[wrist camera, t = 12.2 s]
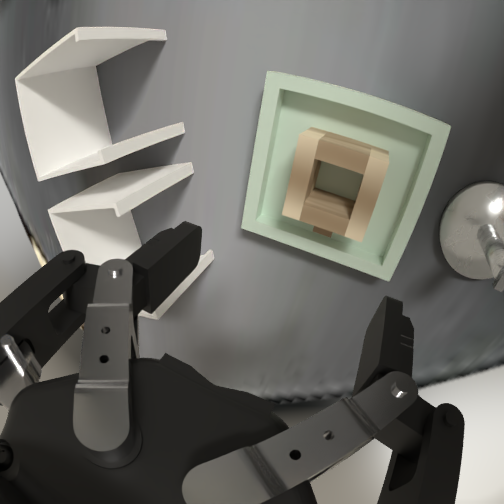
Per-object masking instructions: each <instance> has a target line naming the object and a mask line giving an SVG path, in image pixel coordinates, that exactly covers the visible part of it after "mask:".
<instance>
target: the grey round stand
mask: <svg viewBox="0 0 504 504" xmlns="http://www.w3.org/2000/svg"><path fill="white" fill-rule="evenodd" d="M439 238H440V244H441V248H442V251H443V254H444V256H445V258H446V260H447V262H448V263H449V264H450V266H451V267H452V268H453V269H454V270H455V271H457V272H458V273H460V274H461V275H463V276H466V277H469V278H473V279H488V278H493V277H494V279H495V280H494V282H493V287H494V289H496V290H498V291H500V292H502V291H503V290H504V185H503V184H501V183H498V182H494V181H480V182H475V183H473V184H470V185H468V186H466V187H464V188H463V189H461V190H460V191H459V192H458V193H456V194H455V195H454V196H453V198H452V199H451V200H450V201H449V203H448V204H447V206H446V208H445V210H444V212H443V215H442V217H441V221H440V228H439Z"/></svg>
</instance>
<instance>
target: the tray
mask: <svg viewBox="0 0 504 504" xmlns="http://www.w3.org/2000/svg"><path fill="white" fill-rule="evenodd" d="M310 127H314V128H318V129H321V130H325V131H328V132H332V133H335V134H339V135H342V136H345V137H348V138H352V139H355V140H358V141H361V142H364V143H367V144H370V145H373V146H376V147H379V148H382V149H384V150H387V151H389V165H388V169H387V172H386V175H385V178H384V181H383V184H382V187H381V190H380V193H379V196H378V199H377V202H376V205H375V208H374V210H373V213H372V216H371V219H370V222H369V224H368V227H367V230H366V232H365V235H364V238H363V240H362V243H361V242H359V241H356V240H353V239H350V238H348V237H345V236H342V235H339V234H336V233H334V232H333V233H332V235H331V238H330V237H327V236H324V235H321V234H319V233H316V232H313V228H314V226H313V225H311V224H308V223H305V222H302V221H299V220H296V219H293V218H290V217H287V216H284V215H282V212H283V207H284V203H285V198H286V194H287V189H288V184H289V180H290V175H291V171H292V166H293V161H294V157H295V152H296V147H297V142H298V138H299V134H301V133H302V132H304V131H306V130H307V129H309V128H310ZM450 129H451V126H450V125H448V124H447V123H445V122H442V121H440V120H438V119H435V118H433V117H430V116H428V115H425V114H423V113H420V112H418V111H415V110H412V109H410V108H407V107H404V106H402V105H399V104H396V103H393V102H390V101H387V100H384V99H381V98H378V97H375V96H372V95H369V94H366V93H362V92H359V91H356V90H352V89H349V88H345V87H342V86H338V85H334V84H330V83H326V82H322V81H318V80H314V79H310V78H305V77H301V76H296V75H291V74H286V73H281V72H276V71H267V76H266V81H265V87H264V93H263V99H262V104H261V110H260V116H259V122H258V128H257V134H256V140H255V146H254V152H253V158H252V164H251V170H250V176H249V182H248V188H247V194H246V201H245V207H244V213H243V219H242V226H241V228H242V229H245V230H248V231H251V232H254V233H257V234H259V235H262V236H265V237H268V238H271V239H273V240H276V241H279V242H282V243H285V244H288V245H290V246H293V247H296V248H299V249H301V250H304V251H307V252H310V253H313V254H315V255H318V256H321V257H324V258H326V259H329V260H332V261H335V262H337V263H340V264H343V265H345V266H348V267H351V268H354V269H356V270H359V271H362V272H364V273H367V274H370V275H373V276H375V277H378V278H381V279H383V280H386V281H390V279H391V277H392V275H393V273H394V271H395V269H396V267H397V265H398V263H399V260H400V258H401V256H402V254H403V252H404V250H405V247H406V245H407V243H408V241H409V239H410V236H411V234H412V232H413V229H414V227H415V225H416V222H417V220H418V218H419V215H420V213H421V210H422V208H423V205H424V203H425V200H426V198H427V195H428V193H429V190H430V187H431V185H432V182H433V179H434V177H435V174H436V171H437V168H438V165H439V163H440V160H441V157H442V154H443V151H444V148H445V145H446V142H447V138H448V135H449V132H450ZM362 178H363V174H360V173H357V172H355V171H352V170H349V169H346V168H342V167H339V166H336V165H333V164H330V163H327V162H324V161H321V165H320V169H319V173H318V177H317V181H316V185H315V188H318V189H321V190H324V191H327V192H330V193H333V194H336V195H339V196H342V197H345V198H348V199H351V200H354V201H355V200H356V197H357V194H358V191H359V187H360V184H361V181H362Z"/></svg>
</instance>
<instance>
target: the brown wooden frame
mask: <svg viewBox="0 0 504 504" xmlns="http://www.w3.org/2000/svg"><path fill="white" fill-rule="evenodd" d="M321 161H324V162H327V163H330V164H333V165H336V166H339V167H342V168H346V169H349V170H352V171H355V172H357V173H360V174H363V178H362V181H361V184H360V187H359V191H358V194H357V197H356V200H355V201H354V200H351V199H348V198H345V197H342V196H339V195H336V194H333V193H330V192H327V191H324V190H321V189H318V188H315V185H316V181H317V177H318V173H319V169H320V165H321ZM388 165H389V151H387V150H384V149H382V148H379V147H376V146H373V145H370V144H367V143H364V142H361V141H358V140H355V139H352V138H348V137H345V136H342V135H339V134H335V133H332V132H328V131H325V130H321V129H318V128H314V127H310V128H309V129H307V130H306V131H304V132H302V133H301V134H299V138H298V142H297V147H296V152H295V157H294V161H293V166H292V171H291V175H290V180H289V184H288V189H287V194H286V198H285V203H284V207H283V212H282V215H284V216H287V217H290V218H293V219H296V220H299V221H302V222H305V223H308V224H311V225H313V226H314V228H313V232H316V233H319V234H321V235H324V236H327V237H330V238H331V235H332V233H333V232H334V233H336V234H339V235H342V236H345V237H348V238H350V239H353V240H356V241H359V242H361V243H362V240H363V238H364V235H365V232H366V230H367V227H368V224H369V222H370V219H371V216H372V213H373V210H374V208H375V205H376V202H377V199H378V196H379V193H380V190H381V187H382V184H383V181H384V178H385V175H386V172H387V169H388Z"/></svg>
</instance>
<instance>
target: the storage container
mask: <svg viewBox="0 0 504 504" xmlns="http://www.w3.org/2000/svg"><path fill="white" fill-rule="evenodd" d="M149 40H151V41H165V40H167V37H166V32H165V30H160V29H147V28H129V27H77V28H76V29H74V30H73V31H72V32H70V33H69V34H67V35H66V36H65V37H63V38H62V39H61V40H59V41H58V42H57V43H56V44H54V45H53V46H52V47H50V48H49V49H48V50H47V51H46V52H44V53H43V54H42V55H41V56H39V57H38V58H37V59H36V60H35V61H34V62H32V63H31V64H30V65H29V66H28V67H27V68H26V69H25V70H23V71H22V72H21V73H20V74H19V75H18V76H17V77H16V78H15V82H16V88H17V94H18V100H19V105H20V110H21V115H22V120H23V125H24V129H25V134H26V138H27V142H28V146H29V150H30V154H31V158H32V161H33V165H34V168H35V172H36V175H37V179H38V181H42V180H45V179H49V178H52V177H56V176H59V175H63V174H67V173H71V172H74V171H78V170H82V169H86V168H90V167H95V166H99V165H103V164H106V163H109V162H111V161H113V160H116V159H118V158H120V157H123V156H125V155H128V154H130V153H133V152H135V151H138V150H140V149H143V148H145V147H148V146H150V145H153V144H156V143H158V142H161V141H164V140H167V139H169V138H172V137H175V136H178V135H181V134H184V133H185V129H184V125H183V122H181V123H177V124H174V125H170V126H167V127H164V128H161V129H157V130H154V131H151V132H148V133H145V134H142V135H139V136H136V137H133V138H130V139H128V140H125V141H122V142H119V143H116V144H114V145H113V144H112V140H111V136H110V132H109V128H108V123H107V119H106V114H105V110H104V105H103V100H102V96H101V91H100V85H99V80H98V75H97V69H96V66H97V65H99V64H101V63H102V62H104V61H106V60H108V59H110V58H112V57H114V56H116V55H118V54H120V53H122V52H124V51H126V50H129V49H131V48H133V47H135V46H137V45H139V44H142V43H144V42H146V41H149ZM193 173H194V171H193V166H192V162H189V163H182V164H174V165H167V166H160V167H154V168H147V169H141V170H135V171H129V172H123V173H118V174H116V175H114V176H111V177H109V178H107V179H105V180H103V181H101V182H99V183H97V184H95V185H93V186H91V187H89V188H87V189H85V190H83V191H82V192H80V193H78V194H76V195H74V196H72V197H70V198H68V199H67V200H65V201H63V202H61V203H59V204H57V205H56V206H54V207H52V208H50V209H49V210H48V213H49V215H50V218H51V221H52V224H53V226H54V229H55V232H56V234H57V237H58V240H59V242H60V245H61V247H62V250H63V252H64V251H67V250H78V251H80V252H82V253H83V255H84V258H85V263H89V264H94V265H100V266H101V264H103V263H104V262H106V261H108V260H111V259H124V260H125V259H126V258H127V257H129V256H130V255H131V254H132V253H134V252H135V251H136V250H137V249H139V248H140V247H141V246H142V244H141V241H140V238H139V235H138V232H137V229H136V226H135V222H134V219H133V216H132V213H131V209H133V208H135V207H136V206H138V205H140V204H141V203H143V202H144V201H146V200H148V199H149V198H151V197H153V196H154V195H156V194H158V193H160V192H161V191H163V190H165V189H166V188H168V187H170V186H172V185H173V184H175V183H177V182H179V181H180V180H182V179H184V178H186V177H187V176H189V175H191V174H193ZM213 260H214V255H213V251H212V250H209V251H208V252H207V253H206V254H205V255H200V259H199V262H198V265H197V267H196V268H195V269H194V271H193V272H192V273H191V274H190V275H189V276H188V277H187V278H186V279H185V280H184V281H183V282H182V283H181V284H180V285H179V286H178V287H177V288H176V289H175V290H174V291H173V292H172V293H171V294H170V296H169V297H168V298H167V299H166V300H165V301H164V302H163V303H162V304H161V305H160V306H159V307H158V308H157V309H156V310H155V311H154V312H153V313H152V314H150V313H148V312H146V311H144V310H142V311H141V312H140V313H139V314H138V315H139V316H144V317H148V318H152V319H157V320H159V318H160V317H161V316H162V315H163V314H164V313H165V312H166V311H167V310H168V309H169V307H170V306H171V305H172V304H173V303H174V302H175V301H176V300H177V299H178V298H179V297H180V295H181V294H182V293H183V292H184V291H185V290H186V289H187V288H188V287H189V286H190V285H191V284H192V282H193V281H194V280H195V279H196V278H197V277H198V276H199V275H200V274H201V273H202V272H203V271H204V270H205V268H206V267H207V266H208V265H209V264H210V263H211V262H212V261H213Z"/></svg>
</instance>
